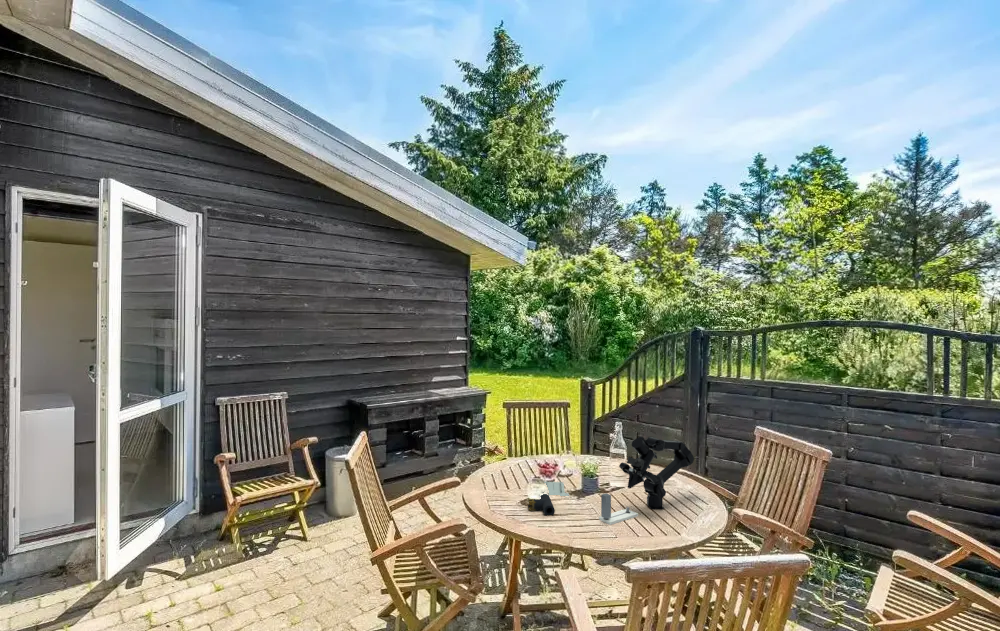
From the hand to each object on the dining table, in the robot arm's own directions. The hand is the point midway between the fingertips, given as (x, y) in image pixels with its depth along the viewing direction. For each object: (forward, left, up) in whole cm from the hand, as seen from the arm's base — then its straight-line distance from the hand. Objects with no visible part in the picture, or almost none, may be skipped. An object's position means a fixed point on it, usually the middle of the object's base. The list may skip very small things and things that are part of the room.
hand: (628, 487), depth 227 cm
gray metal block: (+12, +8, -11) cm, 18 cm away
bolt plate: (+6, +4, -13) cm, 14 cm away
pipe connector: (+41, -6, -13) cm, 43 cm away
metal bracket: (+32, -29, -13) cm, 45 cm away
